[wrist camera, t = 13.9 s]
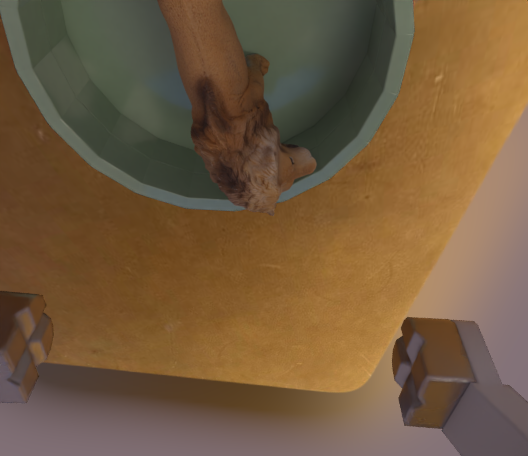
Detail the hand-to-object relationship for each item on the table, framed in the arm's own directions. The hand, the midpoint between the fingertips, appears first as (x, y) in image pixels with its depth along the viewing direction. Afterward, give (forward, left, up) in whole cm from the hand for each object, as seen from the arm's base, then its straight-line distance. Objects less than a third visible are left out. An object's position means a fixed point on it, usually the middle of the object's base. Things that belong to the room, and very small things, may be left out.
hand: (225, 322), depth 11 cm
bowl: (+2, -1, -20) cm, 20 cm away
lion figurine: (+1, -1, -19) cm, 19 cm away
